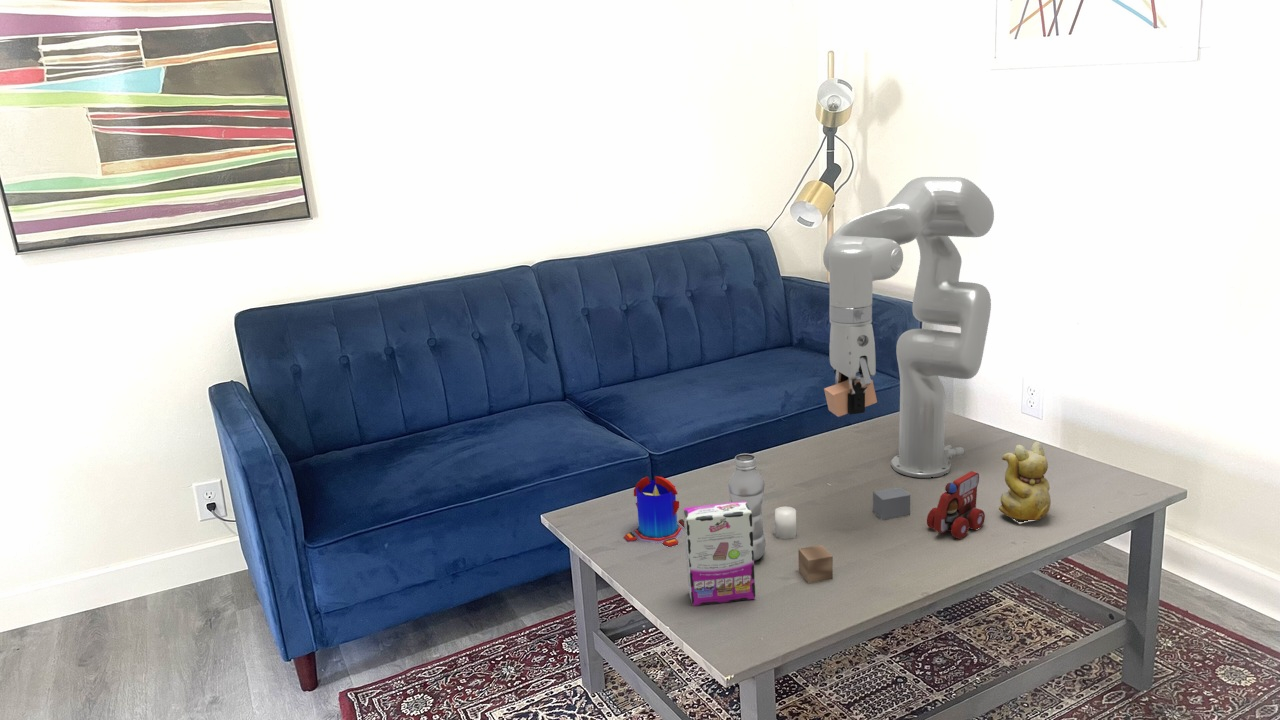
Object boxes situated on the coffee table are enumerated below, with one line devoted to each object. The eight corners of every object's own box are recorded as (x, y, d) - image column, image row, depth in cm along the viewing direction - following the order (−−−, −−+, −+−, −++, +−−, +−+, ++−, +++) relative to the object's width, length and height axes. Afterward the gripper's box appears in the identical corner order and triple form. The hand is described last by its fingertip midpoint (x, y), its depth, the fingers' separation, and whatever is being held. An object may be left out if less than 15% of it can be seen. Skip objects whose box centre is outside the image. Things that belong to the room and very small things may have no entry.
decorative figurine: (1028, 504, 184) (1032, 434, 180) (1062, 520, 177) (1067, 447, 173) (992, 516, 180) (995, 444, 176) (1025, 532, 173) (1030, 458, 169)
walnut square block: (822, 567, 166) (821, 544, 164) (832, 579, 161) (832, 556, 160) (798, 571, 165) (798, 548, 163) (808, 583, 160) (808, 560, 159)
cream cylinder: (791, 528, 181) (791, 505, 179) (799, 537, 177) (799, 513, 175) (772, 531, 180) (771, 508, 178) (780, 540, 176) (779, 517, 175)
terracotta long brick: (867, 395, 173) (862, 374, 172) (877, 402, 170) (872, 380, 168) (828, 410, 172) (823, 388, 171) (838, 417, 168) (833, 395, 167)
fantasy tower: (619, 541, 180) (615, 485, 176) (641, 515, 190) (638, 461, 187) (676, 549, 175) (673, 491, 172) (695, 522, 186) (693, 467, 182)
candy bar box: (749, 585, 161) (747, 499, 156) (756, 600, 156) (753, 512, 152) (686, 591, 160) (682, 505, 156) (691, 607, 155) (686, 518, 151)
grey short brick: (899, 507, 187) (900, 487, 185) (909, 515, 183) (910, 495, 182) (872, 512, 185) (873, 491, 184) (882, 520, 182) (882, 499, 180)
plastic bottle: (728, 549, 174) (724, 451, 168) (764, 548, 173) (762, 449, 168) (730, 566, 168) (727, 465, 162) (768, 565, 167) (765, 463, 162)
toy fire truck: (919, 533, 176) (921, 483, 173) (958, 512, 183) (960, 464, 180) (951, 545, 170) (953, 494, 167) (989, 524, 177) (992, 474, 174)
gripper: (892, 321, 159) (890, 420, 164) (848, 301, 174) (848, 393, 180) (852, 326, 157) (852, 426, 162) (812, 306, 173) (813, 398, 178)
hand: (850, 408), depth 171 cm, fingers closed on terracotta long brick, 4 cm apart
